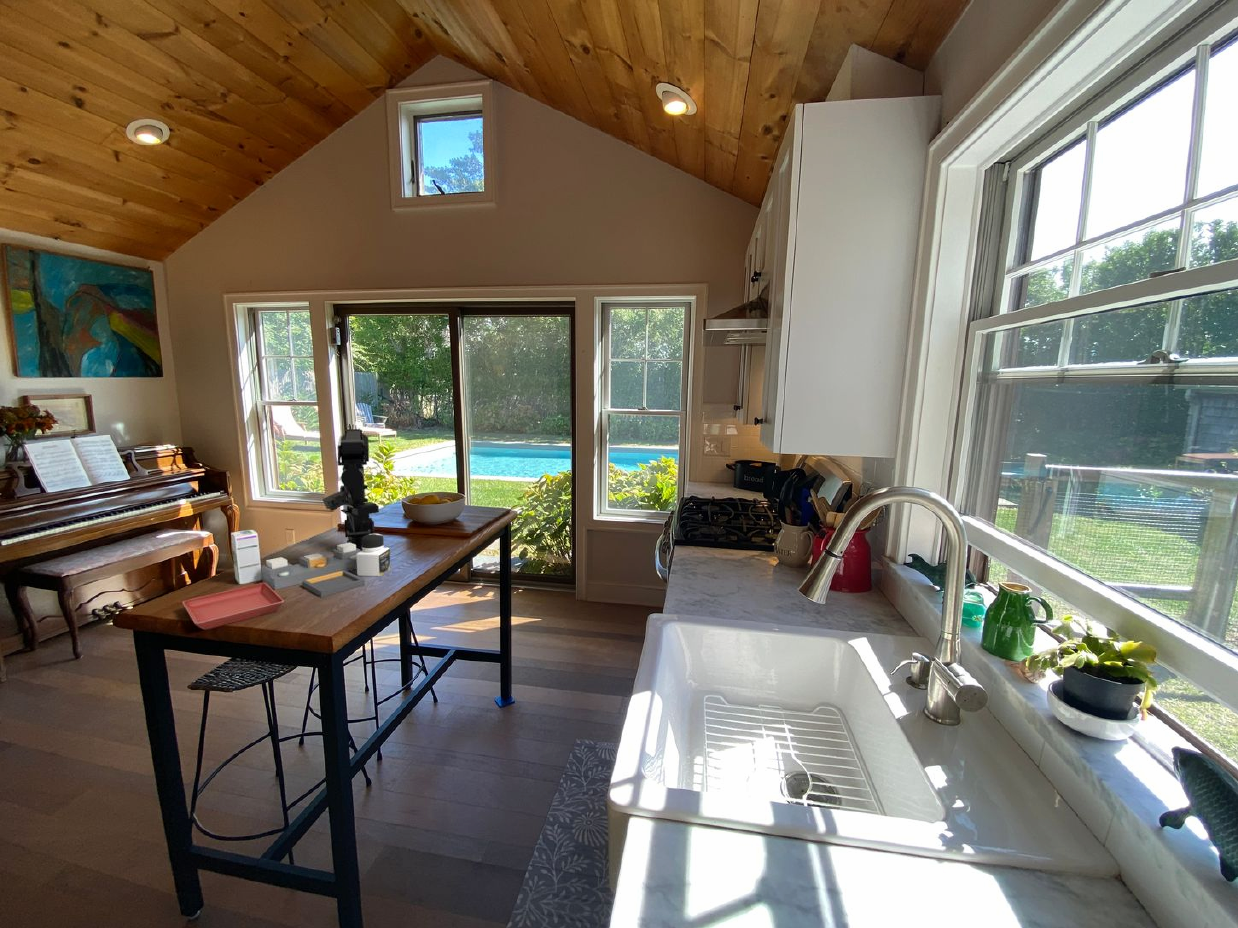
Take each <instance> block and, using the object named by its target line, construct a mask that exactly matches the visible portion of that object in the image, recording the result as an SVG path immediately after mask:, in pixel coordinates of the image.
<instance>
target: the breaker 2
mask: <svg viewBox="0 0 1238 928" xmlns="http://www.w3.org/2000/svg"><path fill="white" fill-rule="evenodd" d="M336 549H337V550H338V551H340V552H342V553H345V552H349V551H354V550H356V545H355V544H352V543H347V542H346V543H341V544H338V545H336Z"/></svg>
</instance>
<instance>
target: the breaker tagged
mask: <svg viewBox="0 0 1238 928" xmlns="http://www.w3.org/2000/svg"><path fill="white" fill-rule="evenodd" d="M318 553H319V552H317V553H312V554H307V555H304V556H303V557H304V559H307V560H309V561H310V560H314V559H319V558H323V555H324V554H323V555H321V554H322V553H320V554H318Z"/></svg>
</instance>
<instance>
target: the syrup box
mask: <svg viewBox="0 0 1238 928" xmlns="http://www.w3.org/2000/svg"><path fill="white" fill-rule="evenodd" d="M258 535H259V534H258V533H257V532H256V531H255V530H254V529H243V530H240V531H235V532H231V533H230V537H231V549H232V559H233V569H234V579H235V580H236V582H237V583H238V584H239V585H244V584H249V583H250V582H251V583H254V582H259V581H263V579H262V565H261V554H260V552H261V551H260V546H259V545H260V544H259V543H260V542H259V536H258ZM251 583H250V584H251Z"/></svg>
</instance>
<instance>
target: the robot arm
mask: <svg viewBox="0 0 1238 928" xmlns="http://www.w3.org/2000/svg"><path fill="white" fill-rule="evenodd" d="M344 431H345V433H344V434H343V436H341V437H340V444H339V445H337V466H341V467H342V473H341V476H340V481H341V483H342V484H343V485H340V487H339V491H338V492H334V493H332V494H330V495H327V496H326V497H324V498H322V502H323V503H324V506H325V508H326V509H327V510H329V511H331V512H332V511H336V510H337V509H339V508H341V507H342V506H343V509H340V512H342V513H344V514H345V515H346V519H344V535H345V538H347V540H346V543H352V544H355V545H356V548H358V549H360V551H362V550H363V549H362V537H364V536H365V535H368V534H376V533H375V521H374V520H373V519H372V517H370V515H371V514H378V513H379V512H380V509H379V508H380V506H379V505H378V504H377V503H375V502H373V501H369V499H368V498H367V497H366V490H367V489H368V485H367V484H365V467H364V466H365V465H368V463H367V462H370V455H369V454H370V446H369V445H370V444H369V443H370V442H369V437H368V436H367V435H366V434H364V433H363V429H360V428H347V429H345V430H344Z"/></svg>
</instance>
